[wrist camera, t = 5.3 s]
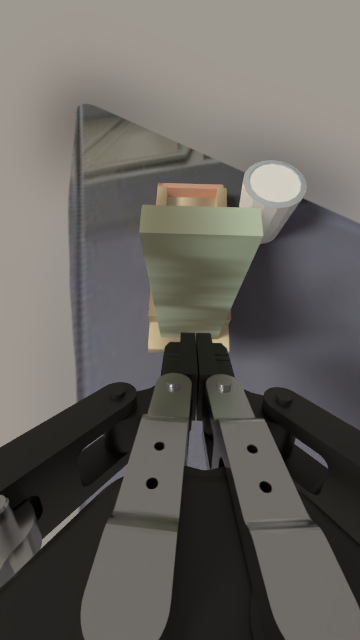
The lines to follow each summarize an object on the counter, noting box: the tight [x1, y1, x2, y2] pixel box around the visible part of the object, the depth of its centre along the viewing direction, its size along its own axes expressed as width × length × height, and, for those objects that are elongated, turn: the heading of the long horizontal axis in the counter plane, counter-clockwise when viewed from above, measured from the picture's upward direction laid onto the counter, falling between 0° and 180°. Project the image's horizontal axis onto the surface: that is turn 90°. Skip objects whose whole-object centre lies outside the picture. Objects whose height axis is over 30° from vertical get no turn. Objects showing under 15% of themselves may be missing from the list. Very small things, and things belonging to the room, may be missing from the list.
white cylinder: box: [239, 160, 307, 244], centre depth 33 cm, size 7×7×7 cm
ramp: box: [139, 186, 263, 353], centre depth 18 cm, size 6×14×13 cm, turn 178°
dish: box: [156, 183, 223, 205], centre depth 34 cm, size 8×10×3 cm
